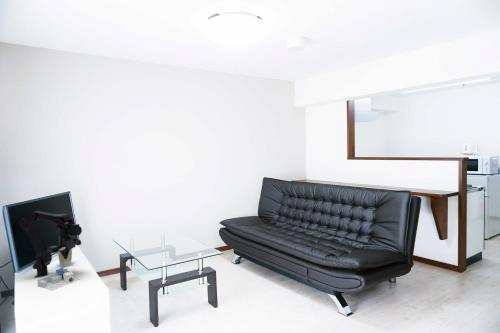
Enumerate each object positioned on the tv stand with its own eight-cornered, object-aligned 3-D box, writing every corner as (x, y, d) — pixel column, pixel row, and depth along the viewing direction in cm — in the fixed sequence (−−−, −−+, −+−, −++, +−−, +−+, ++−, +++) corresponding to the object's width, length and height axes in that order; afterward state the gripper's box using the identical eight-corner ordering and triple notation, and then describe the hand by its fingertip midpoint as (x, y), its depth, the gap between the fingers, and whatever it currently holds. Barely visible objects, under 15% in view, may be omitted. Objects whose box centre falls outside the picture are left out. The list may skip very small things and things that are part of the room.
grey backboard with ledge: (37, 287, 198) (37, 276, 197) (66, 276, 213) (65, 266, 213) (51, 292, 191) (51, 281, 191) (80, 280, 206) (79, 270, 206)
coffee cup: (75, 262, 236) (74, 242, 235) (69, 267, 227) (67, 246, 226) (62, 263, 236) (61, 242, 234) (55, 268, 227) (54, 246, 225)
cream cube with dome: (59, 279, 206) (59, 272, 205) (65, 277, 209) (65, 270, 209) (68, 282, 201) (68, 275, 201) (74, 280, 205) (74, 273, 204)
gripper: (57, 240, 197) (58, 266, 198) (86, 232, 213) (87, 256, 215) (46, 238, 202) (47, 263, 204) (75, 230, 218) (76, 253, 220)
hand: (65, 259), depth 210 cm, fingers closed
